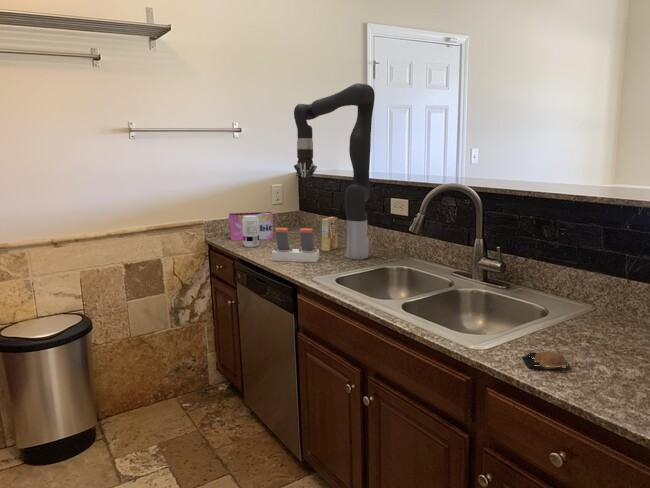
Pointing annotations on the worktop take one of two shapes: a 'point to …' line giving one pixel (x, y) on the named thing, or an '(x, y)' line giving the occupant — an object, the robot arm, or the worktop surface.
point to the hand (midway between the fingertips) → (305, 185)
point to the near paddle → (307, 239)
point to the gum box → (264, 225)
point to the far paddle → (282, 238)
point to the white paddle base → (295, 255)
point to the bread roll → (547, 362)
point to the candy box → (329, 233)
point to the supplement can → (250, 230)
